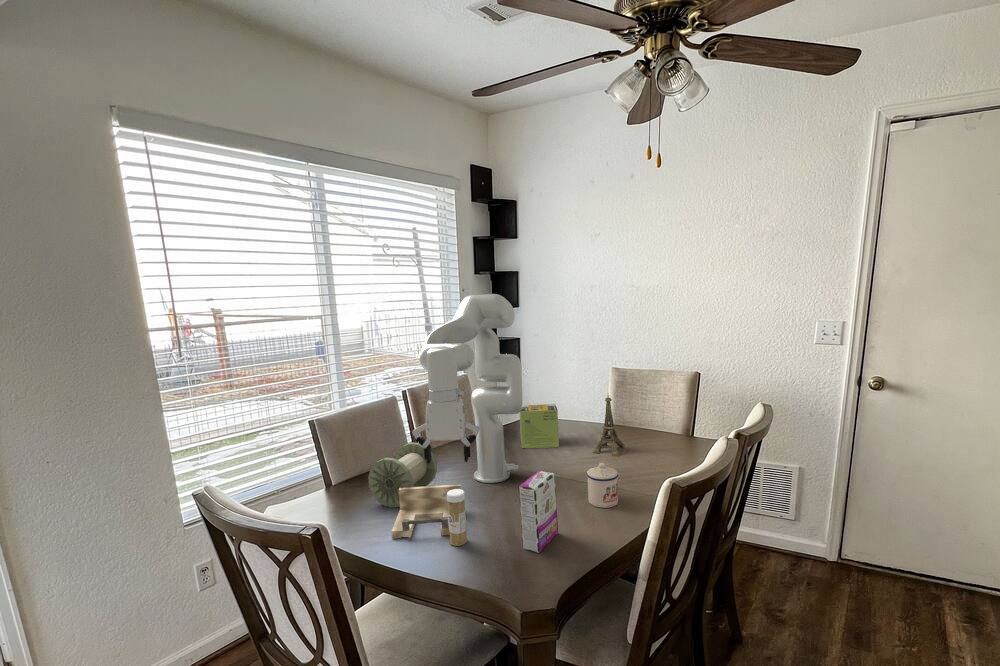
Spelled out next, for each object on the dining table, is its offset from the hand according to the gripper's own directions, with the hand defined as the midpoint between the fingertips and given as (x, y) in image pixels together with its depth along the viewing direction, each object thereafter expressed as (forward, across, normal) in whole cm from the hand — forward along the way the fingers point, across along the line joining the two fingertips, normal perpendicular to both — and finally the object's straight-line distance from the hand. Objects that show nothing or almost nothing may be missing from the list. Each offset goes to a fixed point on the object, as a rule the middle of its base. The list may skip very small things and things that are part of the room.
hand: (447, 460), depth 125 cm
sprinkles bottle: (+21, -2, +1) cm, 21 cm away
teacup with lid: (+21, -44, -20) cm, 52 cm away
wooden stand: (+21, +8, -9) cm, 24 cm away
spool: (+21, +19, -29) cm, 40 cm away
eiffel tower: (+21, -54, -63) cm, 86 cm away
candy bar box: (+21, -23, +2) cm, 31 cm away
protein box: (+20, -27, -75) cm, 82 cm away
